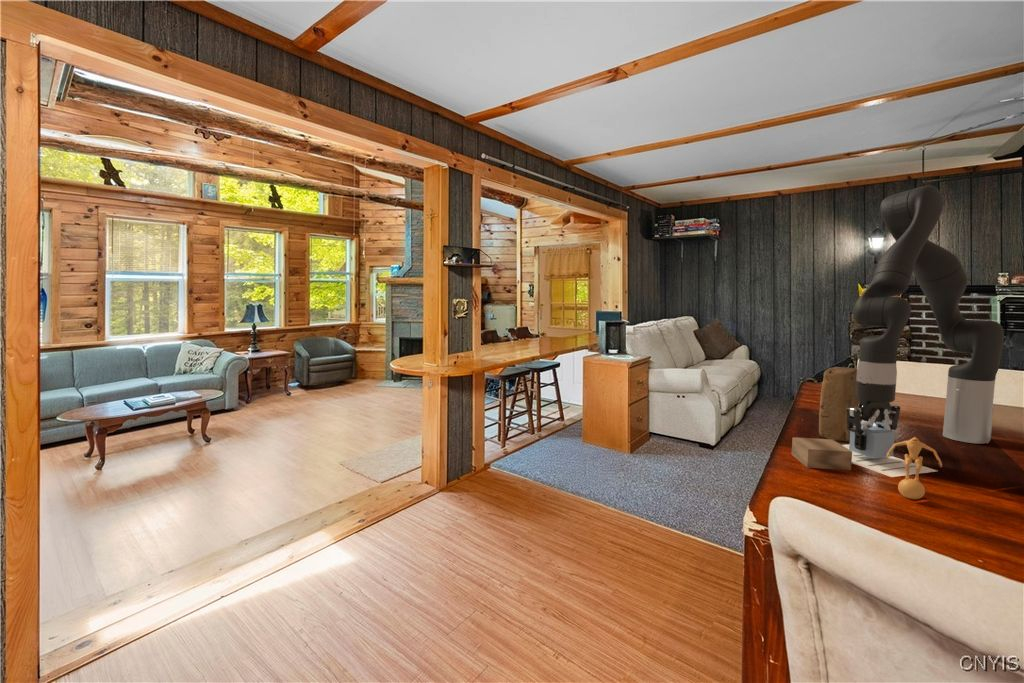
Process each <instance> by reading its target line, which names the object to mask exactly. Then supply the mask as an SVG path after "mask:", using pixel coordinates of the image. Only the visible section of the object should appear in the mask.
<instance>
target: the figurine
mask: <svg viewBox="0 0 1024 683" xmlns="http://www.w3.org/2000/svg"><path fill="white" fill-rule="evenodd" d="M901 446H906V447H907V451H908V453H905V454H904V460H905V461H904V463H905V466H906V467H905V469H906V475H905V476H904V477H905V478H904V479H901V480H900V481H899V483H898V485H897V489H898V492H899V493H900V495H901V496H903V497H904V498H906V499H910V500H920V499H921V498H923V497H924V496H925V493H926V489H925V486H924V484H922V482H921V481H920V480H919V478H920V476H919V475H920V474H919V472H920V471H921V470H920V469H921V467H922V466H923V458H924V457H923V456H921V455H920V456H919V454H920V453H921V451H922V449H926V450H928V451H930V452H933V455H934V456H935V458H936V460H937V461H938V462H937V464H938V465H939V467H940V468H942V467H943V463H942V460H941V458H940V457H939V455H938V452H937V451H936V449H934V448H932V446H931V447H930V446H928V445H927V444H925V443H923V442H921V441H920V440H919V439H918V438H917V437H916V436H913V437H912V438H910V439H909V440H903V441H900V442H894V444H893V446H892V447H891V449H890V450H889V451H888V453H887V455H886V458H887V457H889V456H890V454H889V453H891V452H892V451H893V452H894V450H895V448H896V447H901ZM913 461H914V463H915V464H916V465H917V468H918V469H916V474H914V475H915V477H914V478H910V475H909V470H910V468H909V467H908V466H909V464H911V463H913Z"/></svg>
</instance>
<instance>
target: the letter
mask: <svg viewBox="0 0 1024 683" xmlns="http://www.w3.org/2000/svg"><path fill="white" fill-rule="evenodd" d="M849 444H850V443H849ZM849 444H841V445H842V446H844V447H846V448H847V449H849ZM904 461H905V459H902V458H899V457H895V456H894V455H893V456H890V457H887V458H886V457H881V458H871V457H868V456H865V455H862V454H859V453H856V452H853V451H852V462H851V464H854V465H857V466H860V467H863V468H865V469H868V470H871V471H874V472H875V473H879V474H882V475H885V476H887V477H890V478H895V477H901V476H904V477H905V476H906V469H905V467H906V466H905V463H904ZM908 467H909V468H910V470H909V476H911V475H915V474H916V469H918V468H917V465H916V464H915V462H912V463H911V464H909V466H908ZM920 470H921V471H920V472H919V475H920V474H926V473H927V474H928V473H934V472H938V470H937V469H933V468H930V467H927V466H924V465H922V467H921V469H920Z"/></svg>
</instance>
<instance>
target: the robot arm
mask: <svg viewBox="0 0 1024 683" xmlns="http://www.w3.org/2000/svg"><path fill="white" fill-rule="evenodd" d="M879 208H880V210H879V211H880V216H881V219H882V221H883V223H884V225H885V227H886V228H887V230H888V231H889V233H890V234H891V236H892V238H893V239H894V243H893V244H892V245H890V247H889V248H887V249H886V250H885V252H884V253H883V254H882V255H881V257H880V258H879V260H878V262H877V265H876V268H875V271H874V273H873V276H872V280H871V282H870V283H869V284H868V285H867V287H866V288H865V290H864V291H863V293H862V294H860V296H859V297H858V298H857V300H856V302H855V303H854V305H853V308H852V317H853V320H854V322H855V323H857V325H860V326H863V327H881V328H886V330H885V332H884V333H882V334H880V335H871V336H865V337H863V338H861V340H860V342H859V354H858V356H859V357H858V363H857V368H856V369H857V376H856V390H855V397H856V398H858V400H859V403H858V405H857V407H855V408H851V407H848V408H847V429H848V431H851V432H854V433H855V442H854V445H855V448H856V449H859V450H866V439H867V436H866V434H867V431H868V430H869V428H871V427H872V426H874V424H875V426H876V427H879V428H883V429H886V430H891V431H896V430H897V428H898V424H899V419H900V414H901V406H899V405H895V404H891V403H894V402H895V400H896V389H897V388H896V387H897V378H898V371H897V370H898V369H897V368H898V367H897V361H898V347H899V343H900V340H901V337H902V334H903V332H904V329H905V327H906V325H907V323H908V322H909V319H910V316H911V313H912V307H911V304H910V302H909V300H908V299H907V298H905V297H901V296H899V295H902V294H904V293H905V292H906V291H907V290H908V288H909V285H910V282H911V279H912V276H913V275H914V277H915V279H916V281H917V283H918V285H919V287H920V289H921V291H922V293H923V295H924V296H925V299H926V300H927V302H928V304H929V306H930V309H931V311H932V313H933V316H934V319H935V321H936V322H935V323H936V325H937V328H938V330H939V334H940V337H941V339H942V342H943V344H944V345H945V347H946V348H947V349H948V350H950V351H952V352H955V353H963V354H972V355H971V358H970V360H968V361H967V362H964V363H961V364H957V365H952V366H950V367H949V368H948V371H947V373H948V374H947V384H946V398H945V409H944V420H943V428H942V436H943V437H944V438H946V439H949V440H953V441H957V442H962V443H970V444H982V445H983V444H985V443H986V444H989V443H990V442H991V440H992V439H991V438H992V429H993V419H994V410H995V409H994V406H993V405H994V397H995V396H994V395H995V389H996V388H995V386H996V380H997V379H996V378H997V374H998V371H999V368H1000V366H1001V364H1000V363H1001V358H1002V353H1003V348H1004V341H1005V333H1004V332H1005V331H1004V328H1003V326H1002V325H1001V324H1000V323H999V322H997V321H995V320H982V319H981V320H978V319H967V318H965V317H964V316H963V315H962V314H961V310H960V308H959V304H960V301H961V298H962V296H963V295H964V293H965V291H966V289H967V286H968V275H967V273H966V271H965V270H964V267H963V265H962V263H961V261H960V259H959V258H958V257H957V256H956V254H954V253H953V252H951V251H950V250H947V249H946V248H944V247H942V246H941V245H938V244H937V243H934V242H933V241H930V240H929V238H930V236H931V234H932V233H933V230H934V229H935V227H936V224H937V223H938V221H939V219H940V217H941V214H942V212H943V208H944V199H943V195H942V193H941V191H940V190H939V189H938V187H936V186H934V185H924V186H923V185H922V186H918V187H915V188H912V189H909V190H905V191H902V192H899V193H894V194H892V195H889V196H887V197H885V198H884V199H882V201H881V203H880V207H879ZM891 420H892V421H891ZM853 423H854V424H855V427H853ZM861 426H864V427H863V429H861Z"/></svg>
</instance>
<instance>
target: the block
mask: <svg viewBox="0 0 1024 683" xmlns="http://www.w3.org/2000/svg"><path fill="white" fill-rule="evenodd" d="M856 376H857V368H854V367H845V366H844V367H843V366H841V367H840V366H833V367H829V368H828V369H826V370H825V371H824V372H823V379H822V383H821V386H820V387H821V388H820V390H821V391H820V396H819V397H820V398H819V414H818V434H819V436H821V437H822V439H833V440H834V441H836V442H837V441H838V442H850V431H848V429H847V408H848V407H851V408H855V407H857V405H858V403H859V400H858V398H856V397H855V390H856ZM853 426H855V424H854V423H853Z"/></svg>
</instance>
